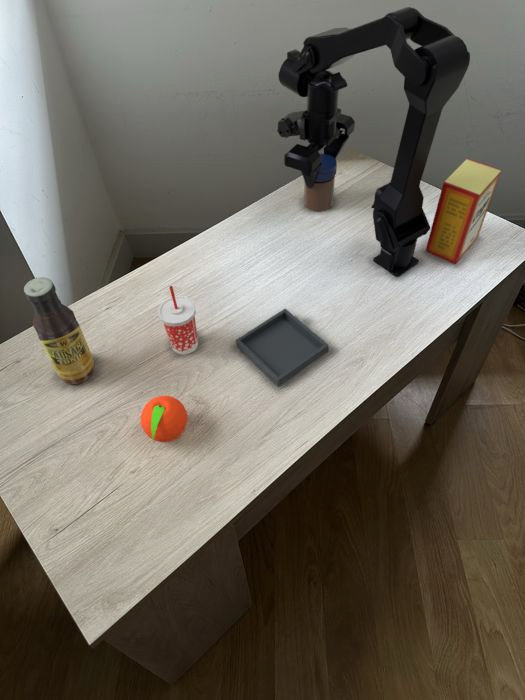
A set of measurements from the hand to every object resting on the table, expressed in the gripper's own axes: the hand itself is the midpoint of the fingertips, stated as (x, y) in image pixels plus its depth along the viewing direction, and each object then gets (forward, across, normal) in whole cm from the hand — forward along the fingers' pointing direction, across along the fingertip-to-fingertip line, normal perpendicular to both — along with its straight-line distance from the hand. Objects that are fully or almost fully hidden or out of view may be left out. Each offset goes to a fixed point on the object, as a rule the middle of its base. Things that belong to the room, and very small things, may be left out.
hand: (318, 178), depth 110 cm
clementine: (+6, +63, +9) cm, 64 cm away
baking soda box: (+6, -1, +30) cm, 31 cm away
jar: (+6, 0, 0) cm, 6 cm away
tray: (+6, +40, +15) cm, 43 cm away
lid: (-4, 0, 0) cm, 4 cm away
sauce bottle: (+6, +61, -12) cm, 63 cm away
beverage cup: (+6, +47, 0) cm, 48 cm away
